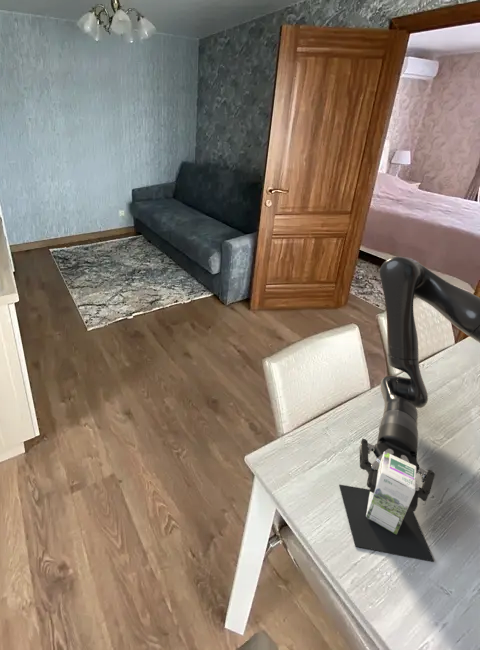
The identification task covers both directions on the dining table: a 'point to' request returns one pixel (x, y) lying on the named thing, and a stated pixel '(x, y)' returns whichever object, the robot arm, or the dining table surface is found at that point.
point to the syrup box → (392, 492)
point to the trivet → (382, 528)
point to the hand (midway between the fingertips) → (390, 499)
